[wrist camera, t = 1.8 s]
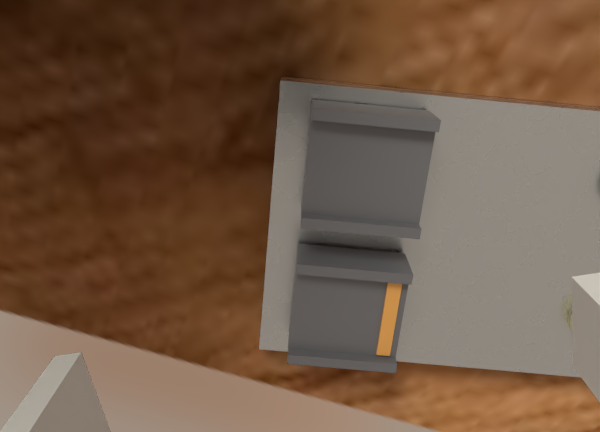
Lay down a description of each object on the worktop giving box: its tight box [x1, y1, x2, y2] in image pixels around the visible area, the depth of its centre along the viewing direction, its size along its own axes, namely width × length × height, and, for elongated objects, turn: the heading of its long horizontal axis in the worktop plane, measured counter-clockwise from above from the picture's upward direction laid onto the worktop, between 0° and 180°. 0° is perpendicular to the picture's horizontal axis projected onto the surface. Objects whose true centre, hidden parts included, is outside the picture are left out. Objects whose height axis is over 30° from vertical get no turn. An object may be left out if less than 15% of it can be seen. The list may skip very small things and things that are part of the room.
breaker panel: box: [259, 76, 600, 377], centre depth 34 cm, size 25×17×3 cm
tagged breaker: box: [287, 244, 413, 373], centre depth 33 cm, size 6×6×3 cm
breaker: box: [300, 99, 441, 239], centre depth 30 cm, size 6×6×3 cm
